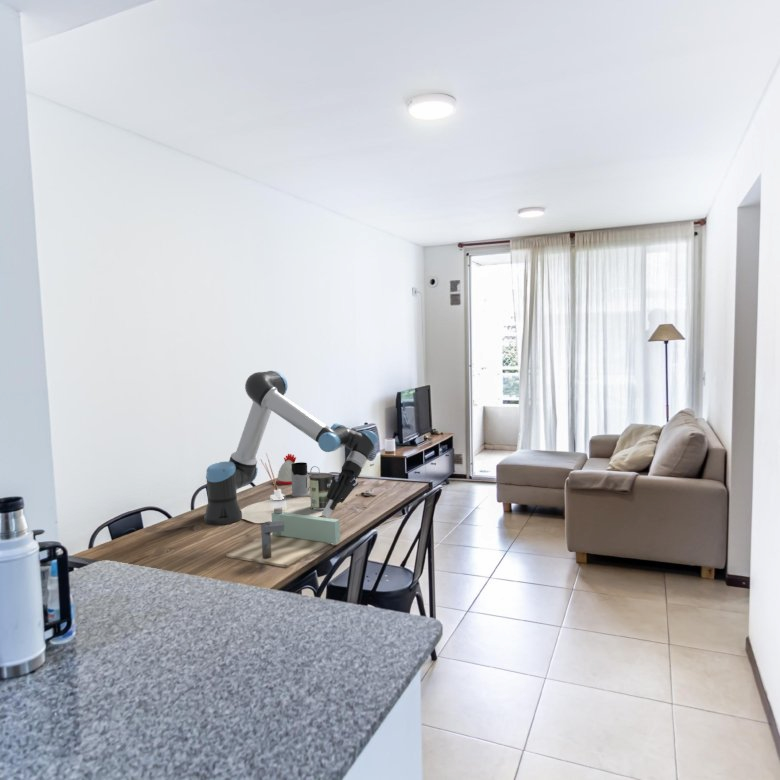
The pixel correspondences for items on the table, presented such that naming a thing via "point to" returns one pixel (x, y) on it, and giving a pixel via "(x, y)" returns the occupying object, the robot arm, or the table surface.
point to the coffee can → (319, 489)
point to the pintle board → (278, 549)
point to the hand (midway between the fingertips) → (324, 516)
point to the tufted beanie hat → (286, 470)
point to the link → (308, 527)
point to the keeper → (269, 536)
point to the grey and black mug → (300, 479)
